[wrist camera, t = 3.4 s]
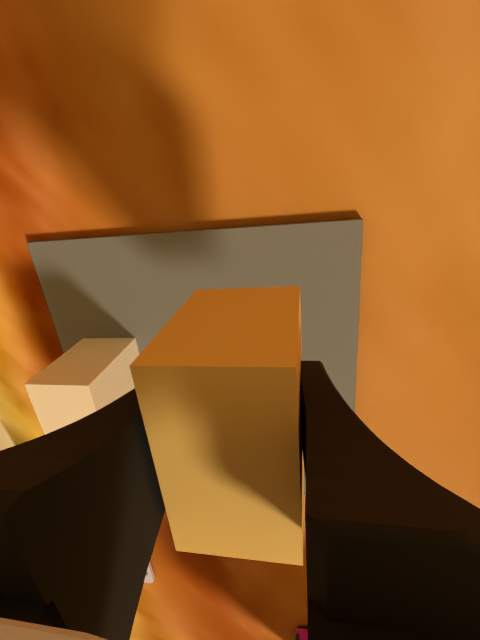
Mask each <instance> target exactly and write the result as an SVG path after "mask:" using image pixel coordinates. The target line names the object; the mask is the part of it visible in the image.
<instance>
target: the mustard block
mask: <svg viewBox="0 0 480 640" xmlns="http://www.w3.org/2000/svg"><path fill="white" fill-rule="evenodd" d="M301 361H302V339H301V302H300V286H284V287H256V288H228V289H200V290H196V291H195V292H194V293H193V294H192V295H191V296H190V297H189V298H188V300H187V301H186V302H185V303H184V304H183V305H182V306H181V308H180V309H179V310H178V311H177V312H176V313H175V314H174V316H173V317H172V318H171V319H170V320H169V321H168V322H167V323H166V325H165V326H164V327H163V328H162V329H161V330H160V331H159V333H158V334H157V335H156V336H155V337H154V338H153V339H152V341H151V342H150V343H149V344H148V345H147V346H146V347H145V348H144V350H143V351H142V352H141V353H140V354H139V355H138V356H137V358H136V359H135V360H134V361H133V362H132V363H131V364H130V366H129V367H130V371H131V374H132V378H133V382H134V386H135V390H136V394H137V398H138V402H139V406H140V410H141V414H142V418H143V422H144V426H145V430H146V434H147V438H148V442H149V446H150V450H151V454H152V457H153V461H154V465H155V469H156V473H157V477H158V481H159V485H160V489H161V493H162V497H163V501H164V505H165V509H166V513H167V517H168V521H169V525H170V529H171V533H172V536H173V540H174V544H175V548H176V551H182V552H190V553H199V554H207V555H216V556H224V557H233V558H241V559H250V560H258V561H266V562H275V563H283V564H292V565H300V566H303V509H304V460H303V450H302V418H301V384H300V369H301Z"/></svg>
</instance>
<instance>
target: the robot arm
mask: <svg viewBox="0 0 480 640" xmlns="http://www.w3.org/2000/svg"><path fill="white" fill-rule="evenodd" d="M300 384H301V418H302V450H303V460H304V471H305V481H306V501H305V522H306V558H307V593H308V640H480V509H479V508H478V507H476V506H474V505H472V504H471V503H469V502H467V501H466V500H464V499H462V498H461V497H459V496H457V495H456V494H454V493H452V492H451V491H449V490H447V489H446V488H444V487H442V486H441V485H439V484H438V483H436V482H435V481H433V480H432V479H430V478H429V477H427V476H426V475H424V474H423V473H422V472H420V471H419V470H417V469H416V468H414V467H413V466H412V465H410V464H409V463H408V462H406V461H405V460H404V459H403V458H401V457H400V456H399V455H398V454H396V453H395V452H394V451H393V450H391V449H390V448H389V447H388V446H387V445H385V444H384V443H383V442H382V441H381V440H380V439H379V438H378V437H377V436H376V435H375V434H374V433H373V432H372V431H371V430H370V429H369V428H368V427H367V426H366V425H365V424H364V423H363V422H362V421H361V420H360V418H359V417H358V416H357V415H356V414H355V413H354V411H353V410H352V409H351V408H350V407H349V405H348V404H347V403H346V401H345V400H344V399H343V397H342V396H341V394H340V393H339V392H338V390H337V389H336V387H335V386H334V384H333V383H332V381H331V379H330V378H329V376H328V374H327V372H326V370H325V368H324V365H323V363H322V362H320V361H301V369H300ZM164 512H165V505H164V501H163V497H162V493H161V489H160V485H159V481H158V477H157V473H156V469H155V465H154V461H153V457H152V454H151V450H150V446H149V442H148V438H147V434H146V430H145V426H144V422H143V418H142V414H141V410H140V406H139V402H138V398H137V394H136V390H135V388H134V389H133V390H131V391H129V392H128V393H126V394H125V395H123V396H121V397H120V398H118V399H116V400H115V401H113V402H112V403H110V404H108V405H106V406H105V407H103V408H101V409H99V410H97V411H95V412H94V413H92V414H90V415H88V416H86V417H84V418H82V419H80V420H78V421H76V422H73V423H71V424H69V425H66V426H64V427H62V428H59V429H57V430H55V431H53V432H50V433H48V434H46V435H43V436H41V437H38V438H36V439H33V440H30V441H27V442H25V443H22V444H19V445H16V446H13V447H10V448H7V449H5V450H2V451H0V640H129V639H130V635H131V630H132V626H133V622H134V618H135V614H136V610H137V606H138V603H139V599H140V595H141V591H142V587H143V584H144V583H152V582H153V580H154V574H153V570H152V567H151V564H150V559H151V555H152V552H153V548H154V545H155V541H156V538H157V535H158V531H159V528H160V525H161V522H162V519H163V516H164Z"/></svg>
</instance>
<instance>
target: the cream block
mask: <svg viewBox="0 0 480 640" xmlns="http://www.w3.org/2000/svg"><path fill="white" fill-rule="evenodd" d="M138 355H139V351H138V347H137V343H136V338H83V339H82V340H80V341H79V342H78V343H77V344H75V345H74V346H73V347H72V348H70V349H69V350H68V351H66V352H65V353H64V354H63V355H61V356H60V357H59V358H57V359H56V360H55V361H54V362H52V363H51V364H50V365H48V366H47V367H46V368H45V369H43V370H42V371H41V372H39V373H38V374H37V375H36V376H34V377H33V378H32V379H31V380H29V381H28V382H27V383H25V384H24V385H25V387H26V390H27V392H28V395H29V397H30V400H31V402H32V405H33V407H34V410H35V412H36V415H37V417H38V420H39V422H40V424H41V427H42V429H43V432H44V434H45V435H46V434H48V433H50V432H53V431H55V430H57V429H59V428H62V427H64V426H66V425H69V424H71V423H73V422H76V421H78V420H80V419H82V418H84V417H86V416H88V415H90V414H92V413H94V412H95V411H97V410H99V409H101V408H103V407H105V406H106V405H108V404H110V403H112V402H113V401H115V400H116V399H118V398H120V397H121V396H123V395H125V394H126V393H128V392H129V391H131V390H133V389H134V388H135V386H134V382H133V378H132V374H131V371H130V367H129V366H130V364H131V363H132V362H133V361H134V360H135V359H136V358H137V356H138Z"/></svg>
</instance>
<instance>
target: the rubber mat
mask: <svg viewBox="0 0 480 640" xmlns="http://www.w3.org/2000/svg"><path fill="white" fill-rule="evenodd" d="M362 233H363V219H362V218H359V219H345V220H331V221H316V222H302V223H288V224H274V225H260V226H245V227H231V228H217V229H203V230H188V231H174V232H160V233H146V234H132V235H117V236H103V237H89V238H75V239H60V240H46V241H32V242H28V243H27V246H28V249H29V252H30V255H31V258H32V261H33V264H34V267H35V270H36V273H37V276H38V279H39V282H40V285H41V288H42V291H43V294H44V297H45V300H46V303H47V306H48V308H49V311H50V314H51V317H52V320H53V323H54V326H55V329H56V332H57V335H58V338H59V341H60V344H61V347H62V350H63V353H65V352H66V351H68V350H69V349H70V348H72V347H73V346H74V345H75V344H77V343H78V342H79V341H80V340H82V339H83V338H136V343H137V347H138V351H139V354H140V353H141V352H142V351H143V350H144V348H145V347H146V346H147V345H148V344H149V343H150V342H151V341H152V339H153V338H154V337H155V336H156V335H157V334H158V333H159V331H160V330H161V329H162V328H163V327H164V326H165V325H166V323H167V322H168V321H169V320H170V319H171V318H172V317H173V316H174V314H175V313H176V312H177V311H178V310H179V309H180V308H181V306H182V305H183V304H184V303H185V302H186V301H187V300H188V298H189V297H190V296H191V295H192V294H193V293H194V292H195V291H196V290H200V289H228V288H256V287H284V286H300V302H301V339H302V361H320V362H322V363H323V365H324V368H325V370H326V372H327V374H328V376H329V378H330V379H331V381H332V383H333V384H334V386H335V387H336V389H337V390H338V392H339V393H340V394H341V396H342V397H343V399H344V400H345V401H346V403H347V404H348V405H349V407H350V408H351V409H352V410H353V411H355V389H356V367H357V344H358V322H359V300H360V277H361V255H362ZM304 495H306V481H305V471H304Z"/></svg>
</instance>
